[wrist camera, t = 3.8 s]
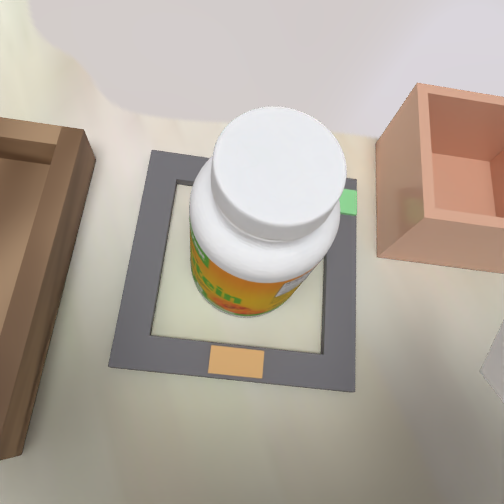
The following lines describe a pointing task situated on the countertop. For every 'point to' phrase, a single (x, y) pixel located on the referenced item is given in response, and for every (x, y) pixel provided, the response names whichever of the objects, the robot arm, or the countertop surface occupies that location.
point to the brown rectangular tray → (34, 255)
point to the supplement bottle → (264, 209)
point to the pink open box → (443, 180)
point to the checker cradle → (226, 355)
